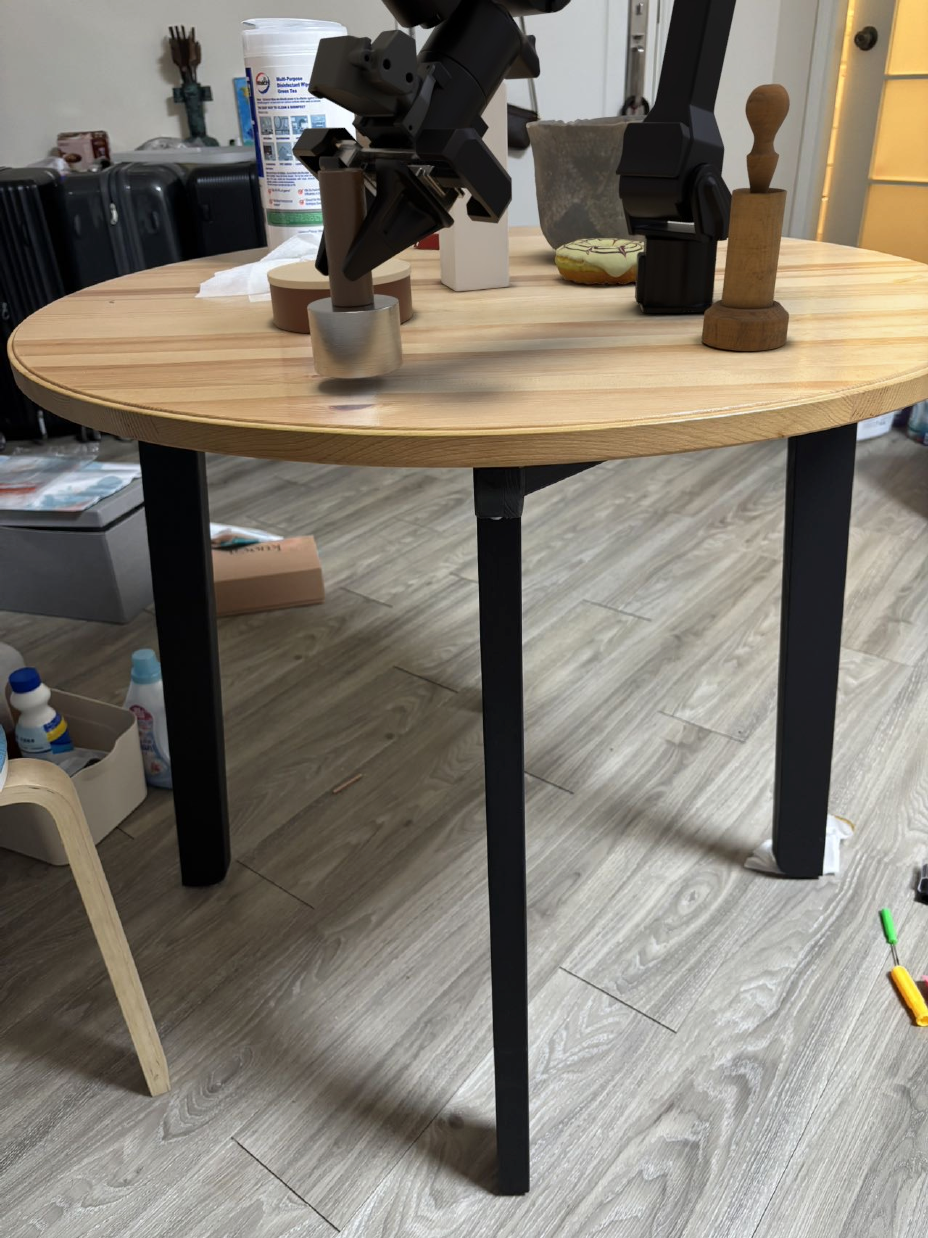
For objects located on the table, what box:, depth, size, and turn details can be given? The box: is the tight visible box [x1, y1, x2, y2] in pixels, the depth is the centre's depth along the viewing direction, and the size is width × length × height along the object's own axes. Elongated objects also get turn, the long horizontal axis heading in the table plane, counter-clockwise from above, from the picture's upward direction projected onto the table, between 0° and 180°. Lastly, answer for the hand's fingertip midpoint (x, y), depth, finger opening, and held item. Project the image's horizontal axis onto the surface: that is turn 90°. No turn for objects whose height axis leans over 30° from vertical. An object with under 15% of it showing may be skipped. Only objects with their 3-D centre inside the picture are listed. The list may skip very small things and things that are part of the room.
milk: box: [438, 80, 510, 293], centre depth 99 cm, size 6×6×22 cm
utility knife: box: [413, 232, 440, 250], centre depth 127 cm, size 12×1×2 cm, turn 69°
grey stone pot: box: [525, 114, 647, 251], centre depth 114 cm, size 18×18×15 cm
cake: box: [266, 258, 414, 334], centre depth 90 cm, size 13×13×4 cm
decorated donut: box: [554, 238, 644, 286], centre depth 103 cm, size 10×11×4 cm
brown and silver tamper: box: [307, 168, 404, 379], centre depth 67 cm, size 6×6×13 cm
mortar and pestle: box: [701, 83, 791, 352], centre depth 73 cm, size 7×6×18 cm
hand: (333, 274), depth 66 cm, fingers closed on brown and silver tamper, 3 cm apart
